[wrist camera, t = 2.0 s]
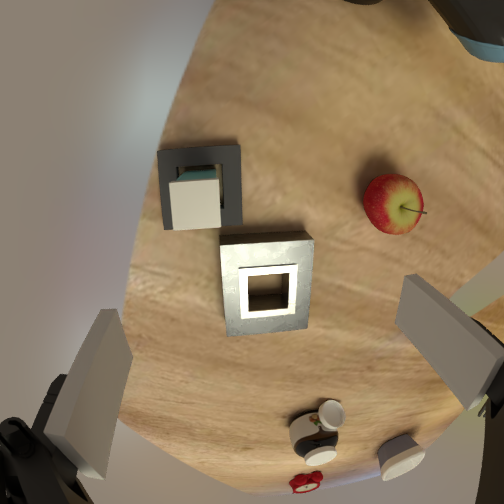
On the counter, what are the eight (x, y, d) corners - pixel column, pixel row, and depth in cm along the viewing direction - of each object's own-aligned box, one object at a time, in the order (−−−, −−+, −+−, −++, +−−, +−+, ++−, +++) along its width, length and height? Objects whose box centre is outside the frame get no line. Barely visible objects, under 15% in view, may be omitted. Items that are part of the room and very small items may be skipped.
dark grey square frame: (160, 150, 34) (157, 150, 32) (238, 144, 35) (240, 145, 33) (166, 224, 38) (164, 230, 36) (240, 219, 39) (242, 224, 37)
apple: (398, 221, 42) (436, 242, 33) (352, 225, 42) (387, 249, 32) (400, 170, 39) (442, 181, 30) (352, 170, 38) (391, 181, 29)
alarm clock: (288, 495, 72) (297, 490, 64) (285, 481, 77) (294, 473, 69) (317, 490, 74) (330, 483, 65) (314, 476, 79) (326, 467, 70)
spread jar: (284, 430, 59) (295, 470, 48) (291, 402, 55) (305, 446, 44) (332, 423, 60) (346, 459, 50) (343, 394, 56) (362, 434, 46)
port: (219, 235, 40) (220, 246, 36) (305, 230, 41) (315, 240, 37) (225, 321, 45) (226, 337, 41) (300, 314, 46) (307, 329, 42)
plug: (183, 169, 36) (169, 183, 25) (217, 167, 36) (218, 179, 25) (185, 202, 37) (173, 230, 26) (218, 200, 38) (221, 227, 27)
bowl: (406, 445, 77) (418, 466, 67) (369, 461, 76) (379, 484, 66) (416, 425, 71) (430, 448, 61) (375, 443, 70) (388, 469, 60)
